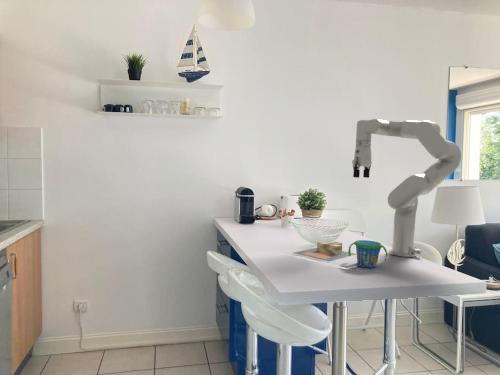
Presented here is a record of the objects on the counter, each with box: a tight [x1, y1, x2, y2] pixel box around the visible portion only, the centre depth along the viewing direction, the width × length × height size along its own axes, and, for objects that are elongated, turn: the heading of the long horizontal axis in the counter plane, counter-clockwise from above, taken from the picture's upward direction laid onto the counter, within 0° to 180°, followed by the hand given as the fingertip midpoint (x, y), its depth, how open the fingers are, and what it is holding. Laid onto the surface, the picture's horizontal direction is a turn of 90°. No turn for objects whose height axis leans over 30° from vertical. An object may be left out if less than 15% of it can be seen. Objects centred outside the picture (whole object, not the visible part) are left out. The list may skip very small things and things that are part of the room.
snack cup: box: [347, 239, 388, 269], centre depth 169 cm, size 16×10×10 cm
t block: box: [316, 241, 343, 255], centre depth 192 cm, size 11×10×4 cm
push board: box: [292, 247, 357, 262], centre depth 187 cm, size 20×23×1 cm
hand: (361, 177), depth 210 cm, fingers open, 9 cm apart
